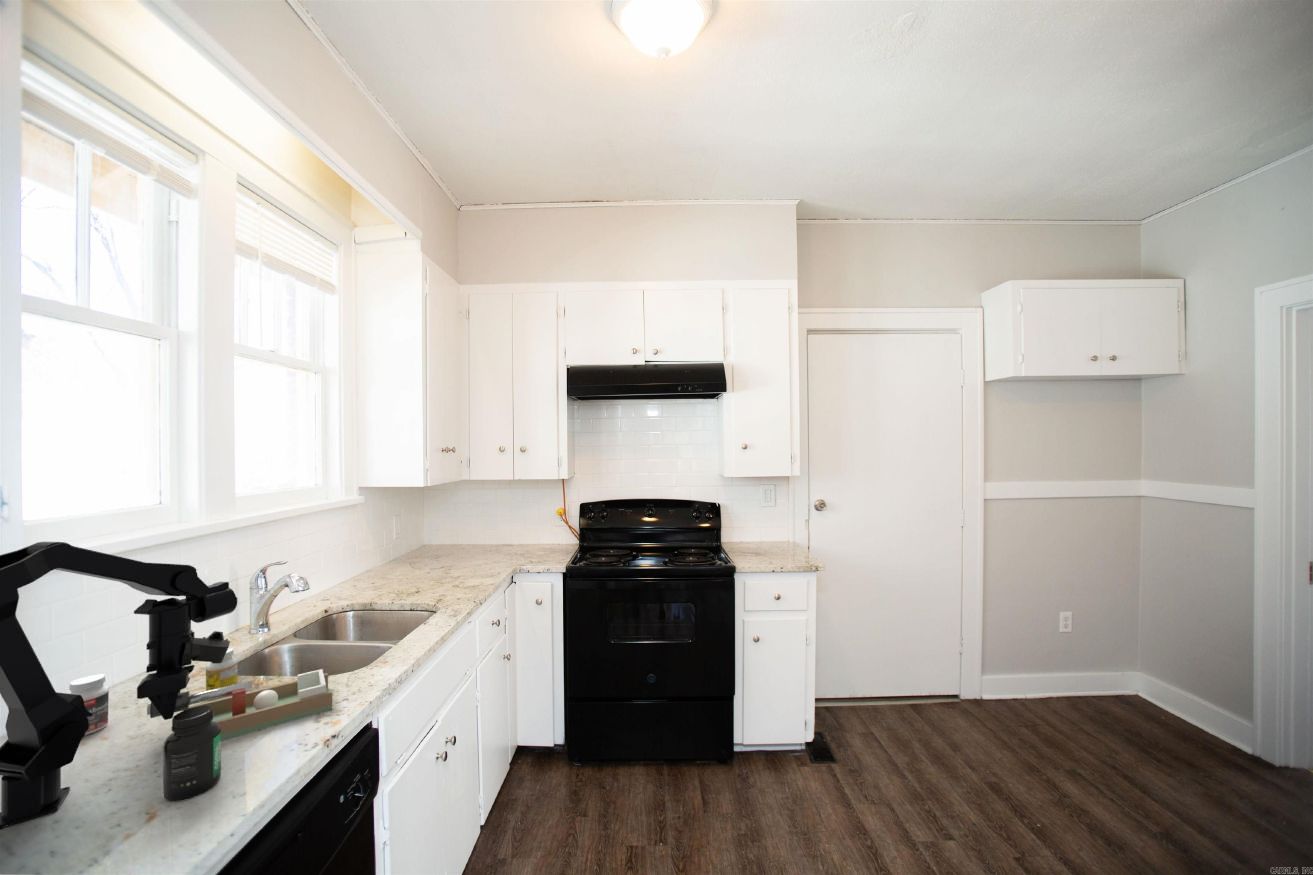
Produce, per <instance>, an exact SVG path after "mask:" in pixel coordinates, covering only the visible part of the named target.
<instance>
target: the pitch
mask: <svg viewBox="0 0 1313 875" xmlns="http://www.w3.org/2000/svg"><path fill="white" fill-rule="evenodd" d="M323 674H324V678H325V683H326V692H325V693H321V694H317V695H313V696H310V697H306V698H302V699H299V694H298V693H297V680H292V681H291V680H290V681H289V682H284V683H283V682H282V683H281V684H280V683H279V684H274V685H271V686H267V687H263V688H260V689H255V690H254V689H253V690H250V691H246V713H244V714H240V715H236V716H233V717H232V695H231V696H228V697H225V698H221V699H217V700H208V701H204V702H200V703H196V704H192V705H189V708H188V709H190V708H194V707H198V706H205V705H206V706H212V708H213V720H212V721H214V722H216V723H218V724H219V725H220V727H221V741H224V740H227V739H232V738H235V737H238V736H242V735H246V734H248V733H252V732H253V733H254V732H256V731H261V730H264V729H268V728H271V727H274V726H278V725H282V724H285V723H288V722H293V721H296V720H300V719H304V718H307V717H310V716H314V715H317V714H321V713H325V712H329V711H332V710H333V690H329V675H328V672H326V673H323ZM265 690H273V691H275V692H276V693H277V695H278V701H277V703H276V705H275V706H271V707H267V708H263V709H260V710H256V709H255V708H254V705H253V703H254V699H255V698H256V696H257V695H258V694H259V693H261V692H262V691H265ZM183 711H184V710H183Z"/></svg>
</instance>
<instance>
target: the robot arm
mask: <svg viewBox="0 0 1313 875" xmlns="http://www.w3.org/2000/svg"><path fill="white" fill-rule="evenodd" d="M54 570H56V571H60V572H65V573H67V572H68V573H71V574H72V573H73V574H76V575H82V576H87V577H92V578H98V579H102V580H109V581H115V582H119V583H122V584H125V585H127V586H128V587H130V588H131V589H134V590H136V591H138V592H141V593H144V594H146V595H150V596H162V597H163V596H165V597H170V598H165V599H160V600H157V599H152V598H146V599H145V601H143V603H142V604H141V605H139V606H138V607H137V608H136V609H135V610H133V614H135V615H144V616H145V615H146V616H148V642H147V643H146V651H148V664H147V666H146V667H145V668H146V671H145V672H146V674H147V675H146V676H145V677H144V678H142V680H141V681H140V682H139V683H138V686H137V688H136V699H138V700H142V699H146V698H147V699H148V700H149V702H150V703H151V702H152V704H153V705H154V706H155V707H156V709H157V710H158V712H159V713H160V714H161V716H160V717H162V718H163V719H164V720H165V721H167V720H172V719H173V717H174V716H175V713H174V711H175V706H176V702H177V698H178V694H179V693H181V691H182V690H184V689H186V688H187V687H188V684H189V682H190V679H191V677H189V675H190V674H191V673H192V672H193V671H194V670H195V669H194V668H195V667H196V666H195V664H192V662H206V663H210V662H212V663H222V661H223V659H224V657H225V654H226V652H227V650H228V648H230V644H231V641H230V640H229V639H228V638H225V637H224V632H223V631H216V630H215V631H213V632H211V633H210V634H209V635H208V636H207V637H206V636H203V637H195V631H193V629H192V622H194V623H196V624H200V623H204V622H207V621H211V620H213V619H217V618H220V617H222V616H223V617H224V616H225V615H229V614H231V613H233V612H234V611H235V610H236V608H237V605H238V597H237V596H236V594H235V591H234V590H233V589H232V588H230V583H229V581H218V582H214V583H213V584H210V585H207V584H206V583H205V582H203V580H202V579H201V578H200V577H199V576H198V573H197V568H195V567H194V566H192V565H191V564H190V565H189V564H181V563H180V564H179V563H178V564H177V563H161V562H145V561H141V560H136V559H133V558H132V559H131V558H127V557H123V556H117V555H115V554H109V553H106V552H105V553H104V552H100V551H96V550H93V549H87V548H84V547H79V546H74V545H72V544H69V543H67V542H65V541H64V542H63V541H39V542H36V543H33V544H31V545H28V546H25V547H23V548H20V549H17V550H13V551H11V552H7V553H3V554H0V696H1V697H2V699H3V701H4V703H5V704H6V706H7V709H8V712H7V718H6V722H5V730H6V736H7V739H6V740H5V742H4V743H3V744H2V745H1V746H0V776H1V779H0V780H1V781H0V782H1V784H0V786H1V788H0V789H1V792H0V793H1V795H0V796H1V797H0V798H1V799H0V801H1V802H0V808H1V809H0V829H1V828H4V826H5V827H7V826H6V825H8V826H11V824H12V825H14V824H18V823H22V822H25V821H28V820H32V819H35V818H38V817H42V816H45V815H48V814H52V813H54V812H56V811H57V810H59V808H60V807H61V805H62V804H63V802H64V800H65V798H66V797H67V795H68V793H69V792H70V791H71V790H70V789H71V787H70V786H66V787H62V768H63V767H65V766H68V765H69V764H71V763H72V762H73V760H74V758H75V756H76V753H77V751H78V749H79V746H80V744H81V742H82V740H83V738H84V737H85V736H86V735H85V733H86V731H88V730H89V725H90V724H89V720H88V718H87V717H89V716H92V713H90V712H88V711H87V709H86V708H85V705H84V700H83V698H82V696H81V695H76V694H70V693H66V692H57V691H56V690H55V688H54V686H53V684H52V681H51V680H50V678H49V676H48V674H47V672H45V671H46V670H45V669H44V667H43V665H42V663H41V662H40V659H39V658H38V656H37V654H36V651H35V650H34V648H33V646H32V644H31V642H30V640H29V638H28V636H27V635H26V633H25V631H24V630H23V628H22V626H21V624H20V622H19V619H18V618H17V609H18V604H19V600H20V594H19V589H20V588H23V587H26V586H28V585H29V584H32V583H34V582H36V581H38V579H40V578H42V577H43V576H45V575H46V574H48V573H50V572H51V571H54ZM177 597H185V598H181V599H179V598H177ZM151 672H153V673H151Z"/></svg>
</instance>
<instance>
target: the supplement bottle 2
mask: <svg viewBox="0 0 1313 875" xmlns="http://www.w3.org/2000/svg"><path fill="white" fill-rule="evenodd" d="M234 655H235V654H234V648H232V647H231V648H230V647H228V650H227V652H226V654H225V657H224V659H223V661H222V663H212V662H208V664H207V665H206V667H205V691H209V690H213V689H217V688H222V687H226V686H230V685H235V684H239V682H238V681H239V680H238V659H237V658H236V657H233V656H234ZM229 696H232V695H229ZM229 696H225V697H229ZM225 697H221V698H225ZM221 698H217V699H221ZM217 699H212V700H211V701H213V700H217Z"/></svg>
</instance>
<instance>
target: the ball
mask: <svg viewBox="0 0 1313 875" xmlns="http://www.w3.org/2000/svg"><path fill="white" fill-rule="evenodd" d="M277 701H278V695H277V693H276V692H275V691H273V690H265V691H262V692H261V693H259V694H258V695H257V696H256V698H255V699H254V703H253V705H254V708H255V709H256V710H260V709H263V708H267V707H271V706H275V705H276V703H277Z"/></svg>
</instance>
